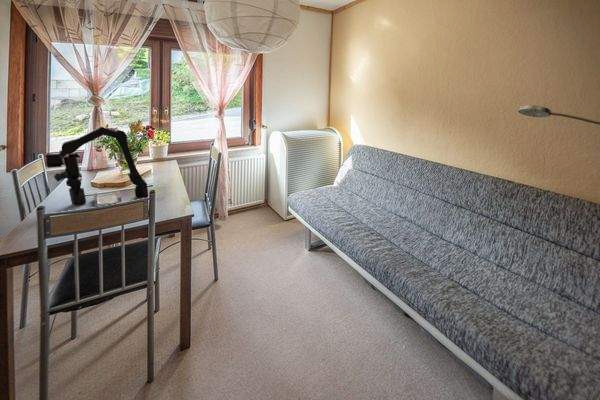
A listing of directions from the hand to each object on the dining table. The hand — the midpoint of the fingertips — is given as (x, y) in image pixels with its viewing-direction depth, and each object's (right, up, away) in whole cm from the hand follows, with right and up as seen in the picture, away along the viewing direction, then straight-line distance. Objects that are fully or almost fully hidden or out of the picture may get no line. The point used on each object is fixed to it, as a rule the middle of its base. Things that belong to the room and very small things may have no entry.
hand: (77, 194), depth 184 cm
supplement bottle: (0, -5, +2) cm, 6 cm away
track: (+12, -4, +8) cm, 15 cm away
